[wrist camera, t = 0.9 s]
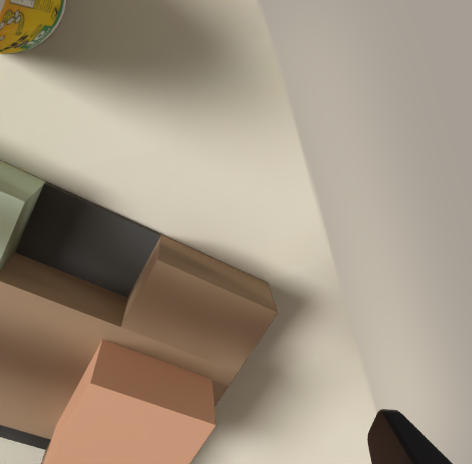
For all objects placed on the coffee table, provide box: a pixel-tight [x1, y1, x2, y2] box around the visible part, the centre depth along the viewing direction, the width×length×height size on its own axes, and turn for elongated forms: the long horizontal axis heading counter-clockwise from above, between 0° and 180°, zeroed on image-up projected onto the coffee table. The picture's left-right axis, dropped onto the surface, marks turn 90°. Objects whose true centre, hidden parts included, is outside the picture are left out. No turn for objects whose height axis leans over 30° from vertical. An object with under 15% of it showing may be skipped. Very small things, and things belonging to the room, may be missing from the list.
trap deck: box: [0, 161, 278, 464], centre depth 22 cm, size 16×19×3 cm
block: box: [43, 339, 216, 464], centre depth 21 cm, size 6×6×3 cm
